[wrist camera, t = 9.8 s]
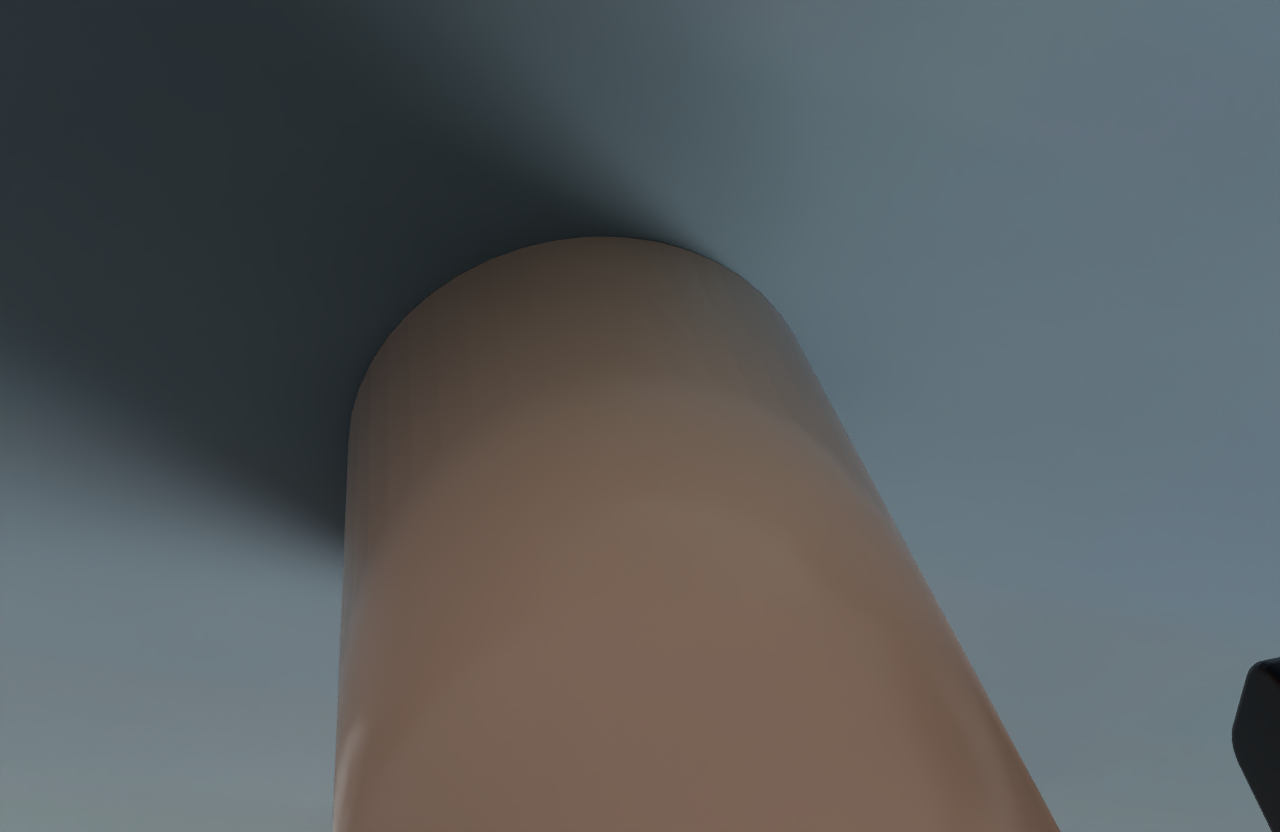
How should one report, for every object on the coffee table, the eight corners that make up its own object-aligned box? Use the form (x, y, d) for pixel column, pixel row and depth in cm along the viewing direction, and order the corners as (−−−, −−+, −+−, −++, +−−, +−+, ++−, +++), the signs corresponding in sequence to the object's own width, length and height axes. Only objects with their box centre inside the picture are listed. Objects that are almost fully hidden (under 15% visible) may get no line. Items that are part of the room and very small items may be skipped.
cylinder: (808, 196, 12) (1200, 774, 6) (817, 574, 15) (1087, 1200, 9) (292, 284, 11) (201, 990, 6) (405, 654, 14) (419, 1363, 9)
